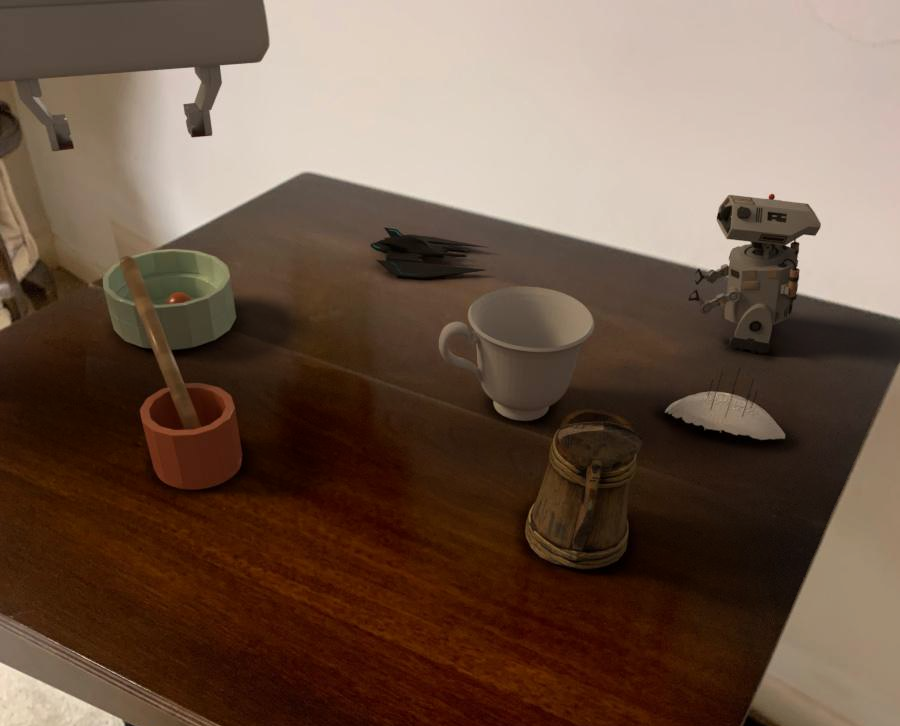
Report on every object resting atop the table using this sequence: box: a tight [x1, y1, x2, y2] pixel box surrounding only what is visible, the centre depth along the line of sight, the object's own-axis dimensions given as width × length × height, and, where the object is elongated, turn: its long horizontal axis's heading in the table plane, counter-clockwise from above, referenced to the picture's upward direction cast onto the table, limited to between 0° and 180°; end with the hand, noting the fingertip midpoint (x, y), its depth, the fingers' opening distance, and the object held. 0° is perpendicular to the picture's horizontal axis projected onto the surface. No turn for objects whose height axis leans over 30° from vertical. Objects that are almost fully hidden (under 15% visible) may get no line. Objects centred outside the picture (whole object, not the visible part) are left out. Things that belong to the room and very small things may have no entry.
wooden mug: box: [524, 408, 644, 571], centre depth 69 cm, size 9×14×18 cm, turn 169°
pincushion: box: [664, 368, 786, 441], centre depth 88 cm, size 12×6×6 cm, turn 69°
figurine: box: [688, 193, 822, 355], centre depth 98 cm, size 9×12×15 cm
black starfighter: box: [370, 226, 490, 280], centre depth 112 cm, size 11×15×3 cm
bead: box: [167, 292, 192, 304], centre depth 98 cm, size 3×3×3 cm
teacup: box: [438, 285, 595, 422], centre depth 87 cm, size 12×15×10 cm
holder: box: [139, 382, 243, 491], centre depth 80 cm, size 8×8×6 cm
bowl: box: [102, 248, 237, 351], centre depth 97 cm, size 13×13×6 cm
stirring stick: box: [119, 255, 202, 430], centre depth 79 cm, size 2×2×20 cm
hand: (132, 140), depth 62 cm, fingers open, 8 cm apart
